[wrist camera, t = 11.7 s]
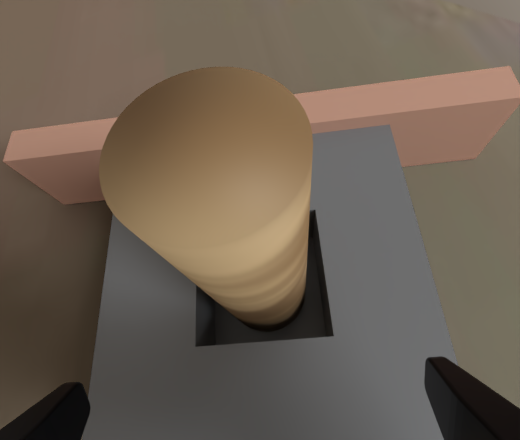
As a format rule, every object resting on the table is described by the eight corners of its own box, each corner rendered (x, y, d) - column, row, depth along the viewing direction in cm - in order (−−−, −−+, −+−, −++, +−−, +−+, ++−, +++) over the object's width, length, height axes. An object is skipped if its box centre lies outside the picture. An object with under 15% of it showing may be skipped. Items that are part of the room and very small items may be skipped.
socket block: (439, 440, 15) (485, 463, 11) (128, 456, 16) (76, 482, 12) (373, 168, 20) (389, 124, 17) (151, 193, 21) (120, 157, 18)
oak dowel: (293, 342, 16) (274, 278, 5) (218, 317, 17) (58, 214, 6) (313, 266, 18) (336, 82, 6) (243, 246, 19) (155, 55, 7)
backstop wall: (475, 158, 20) (525, 96, 16) (64, 204, 22) (2, 161, 18) (464, 132, 21) (509, 65, 16) (69, 178, 23) (12, 131, 18)
